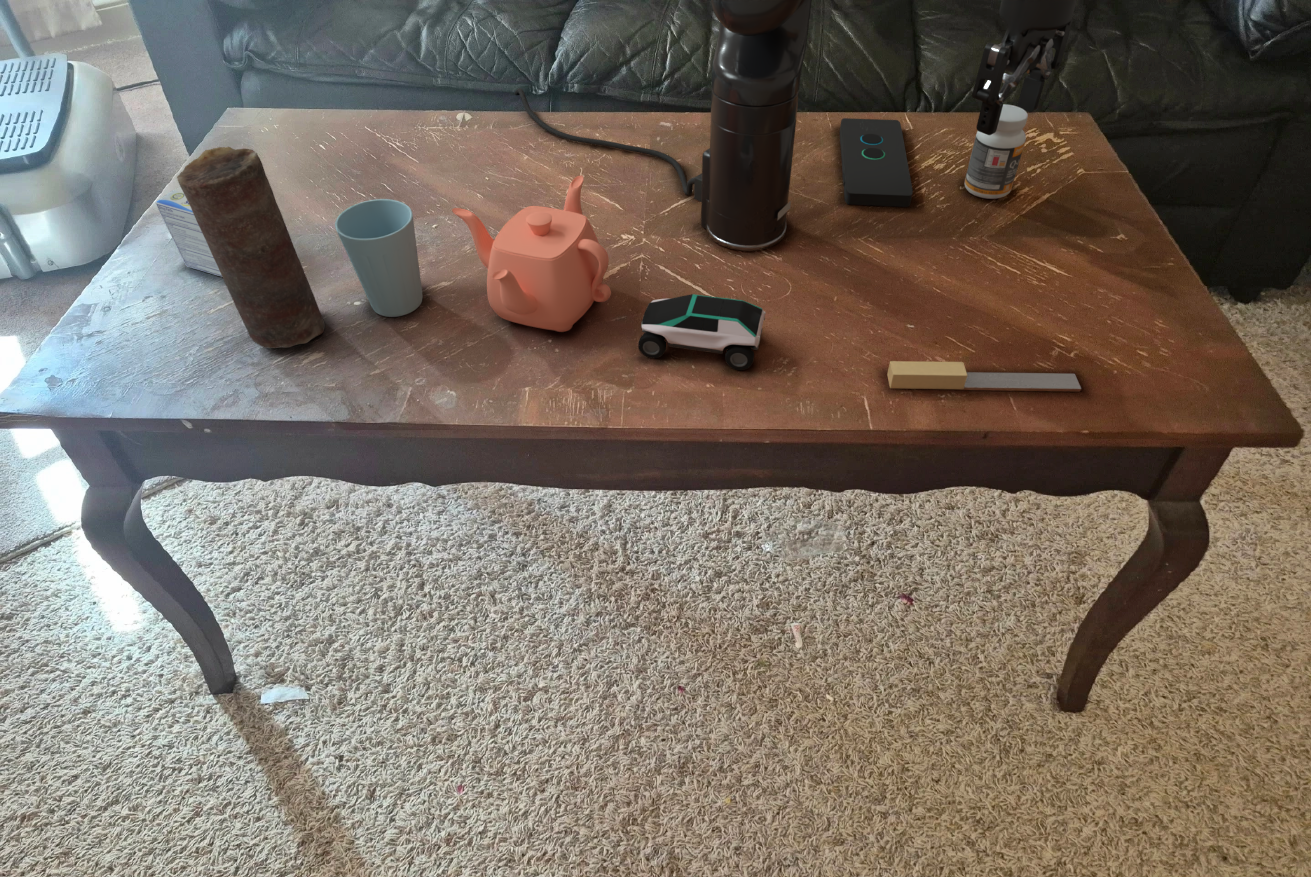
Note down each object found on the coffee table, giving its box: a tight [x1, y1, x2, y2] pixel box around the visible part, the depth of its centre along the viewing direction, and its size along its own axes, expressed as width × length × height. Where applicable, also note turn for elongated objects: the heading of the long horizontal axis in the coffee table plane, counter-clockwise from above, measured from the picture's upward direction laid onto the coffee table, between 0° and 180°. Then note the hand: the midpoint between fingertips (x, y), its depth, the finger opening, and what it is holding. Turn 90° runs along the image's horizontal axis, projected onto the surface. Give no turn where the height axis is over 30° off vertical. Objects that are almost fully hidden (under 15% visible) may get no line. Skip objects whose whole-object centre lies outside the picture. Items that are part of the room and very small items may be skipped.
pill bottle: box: [964, 104, 1029, 200], centre depth 107 cm, size 6×6×10 cm
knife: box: [886, 360, 1082, 393], centre depth 84 cm, size 18×2×2 cm, turn 88°
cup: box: [334, 198, 423, 318], centre depth 92 cm, size 8×8×10 cm
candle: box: [176, 146, 326, 349], centre depth 85 cm, size 8×7×20 cm
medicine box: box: [155, 185, 223, 278], centre depth 98 cm, size 8×4×9 cm, turn 65°
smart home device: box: [839, 117, 914, 208], centre depth 114 cm, size 8×2×20 cm
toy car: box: [637, 293, 766, 371], centre depth 88 cm, size 6×12×5 cm, turn 77°
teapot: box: [451, 175, 612, 333], centre depth 91 cm, size 14×14×11 cm
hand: (1006, 120), depth 104 cm, fingers open, 8 cm apart
